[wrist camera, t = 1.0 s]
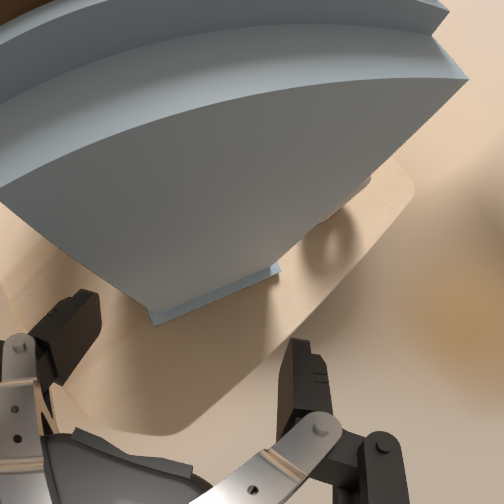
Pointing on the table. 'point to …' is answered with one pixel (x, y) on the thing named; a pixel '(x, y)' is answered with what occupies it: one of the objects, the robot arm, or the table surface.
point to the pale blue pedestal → (205, 129)
